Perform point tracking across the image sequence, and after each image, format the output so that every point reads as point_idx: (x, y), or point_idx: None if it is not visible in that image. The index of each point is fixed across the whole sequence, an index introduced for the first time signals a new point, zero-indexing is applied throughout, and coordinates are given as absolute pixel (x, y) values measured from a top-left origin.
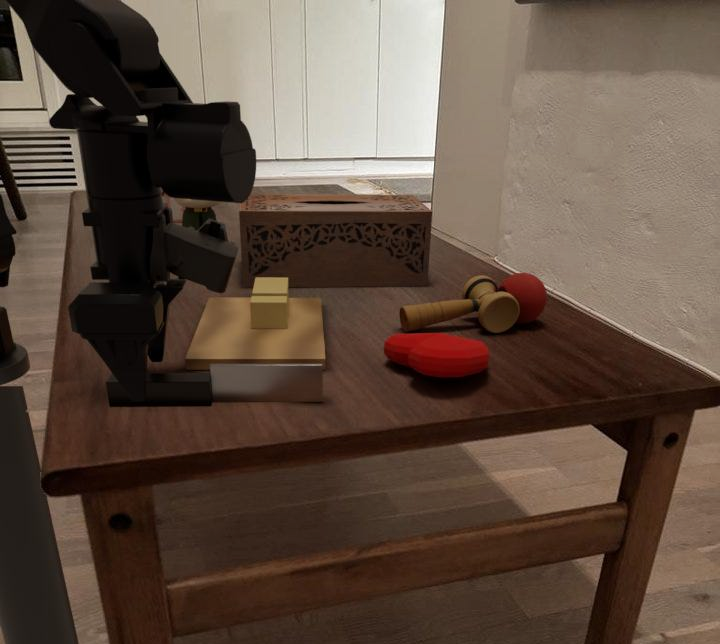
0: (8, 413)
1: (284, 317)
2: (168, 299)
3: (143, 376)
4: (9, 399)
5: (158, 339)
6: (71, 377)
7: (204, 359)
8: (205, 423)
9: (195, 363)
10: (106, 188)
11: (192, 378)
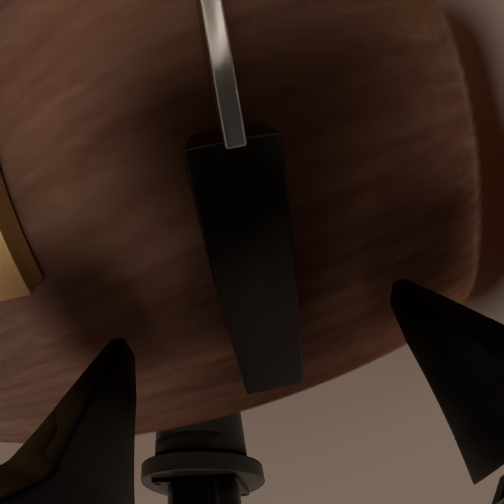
0: (215, 419)
1: None
2: (42, 493)
3: (465, 307)
4: (211, 433)
5: (111, 393)
6: (170, 419)
7: (9, 248)
8: (365, 116)
9: (25, 264)
10: None
11: (255, 203)
